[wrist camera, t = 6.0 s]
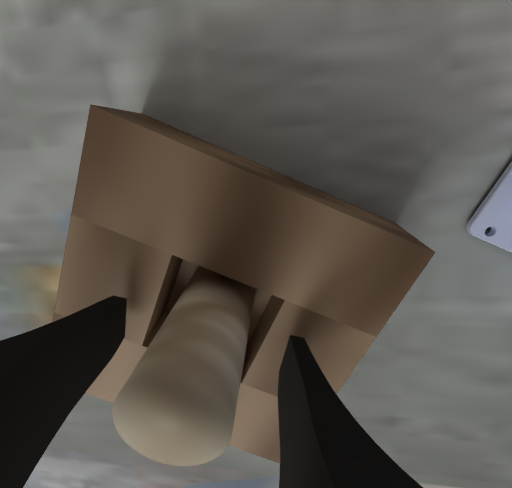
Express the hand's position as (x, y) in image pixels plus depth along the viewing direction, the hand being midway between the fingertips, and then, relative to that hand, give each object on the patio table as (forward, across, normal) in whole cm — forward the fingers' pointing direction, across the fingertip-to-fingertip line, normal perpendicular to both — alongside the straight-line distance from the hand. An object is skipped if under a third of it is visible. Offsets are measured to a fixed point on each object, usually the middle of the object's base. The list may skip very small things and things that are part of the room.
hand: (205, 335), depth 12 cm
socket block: (+5, 0, 0) cm, 5 cm away
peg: (+4, 0, 0) cm, 4 cm away
